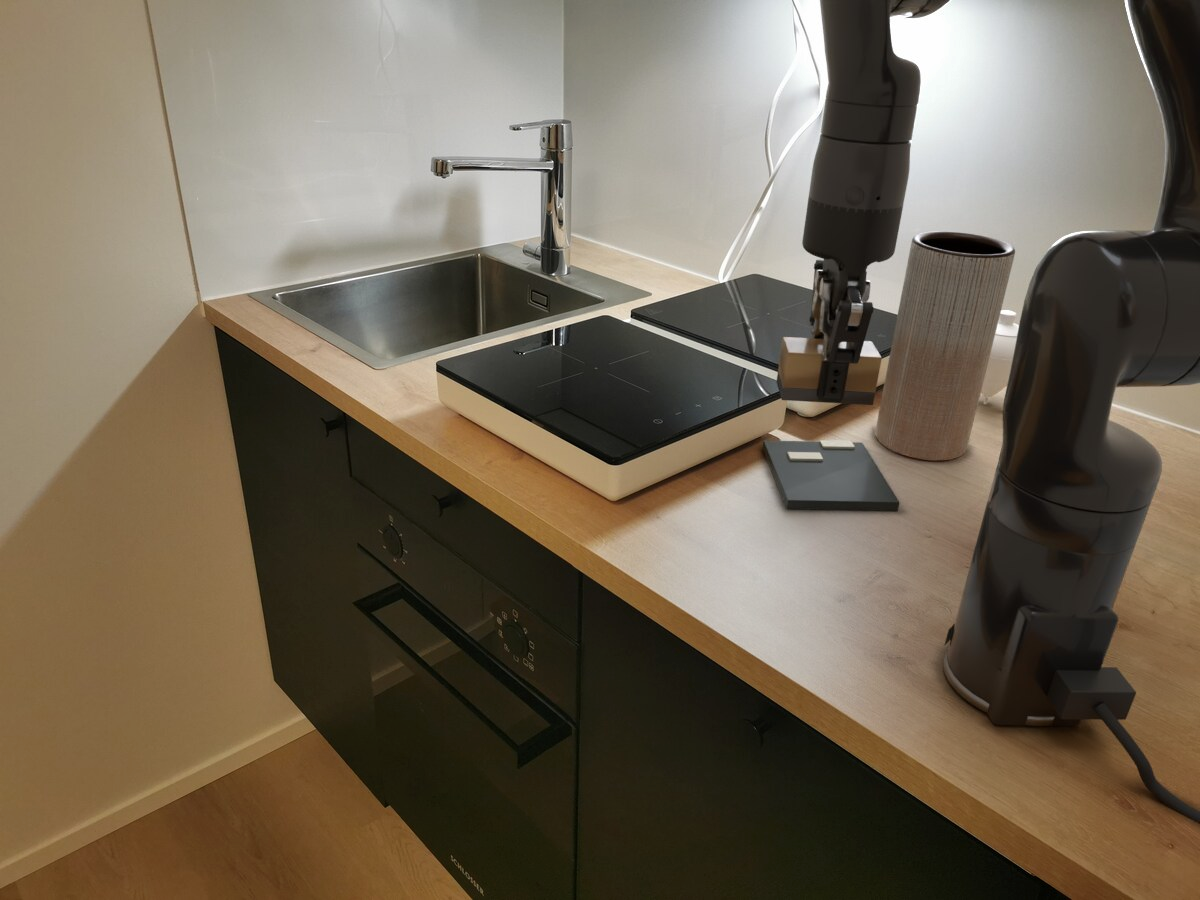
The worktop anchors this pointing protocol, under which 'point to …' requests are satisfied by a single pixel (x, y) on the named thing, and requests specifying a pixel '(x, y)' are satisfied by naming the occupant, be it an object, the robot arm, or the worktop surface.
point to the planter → (942, 342)
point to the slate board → (829, 478)
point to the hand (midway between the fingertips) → (824, 388)
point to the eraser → (805, 364)
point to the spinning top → (1000, 355)
